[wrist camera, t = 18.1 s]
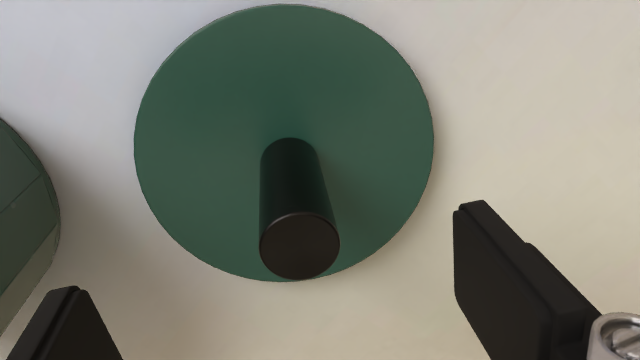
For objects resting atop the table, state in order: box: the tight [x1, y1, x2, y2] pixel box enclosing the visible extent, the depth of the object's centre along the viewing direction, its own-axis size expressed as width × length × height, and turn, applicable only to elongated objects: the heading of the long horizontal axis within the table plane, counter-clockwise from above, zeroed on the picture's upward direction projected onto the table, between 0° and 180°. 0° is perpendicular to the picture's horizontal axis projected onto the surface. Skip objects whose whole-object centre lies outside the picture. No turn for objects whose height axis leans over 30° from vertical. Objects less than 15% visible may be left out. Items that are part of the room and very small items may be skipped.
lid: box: [134, 4, 434, 282], centre depth 16 cm, size 12×12×7 cm
